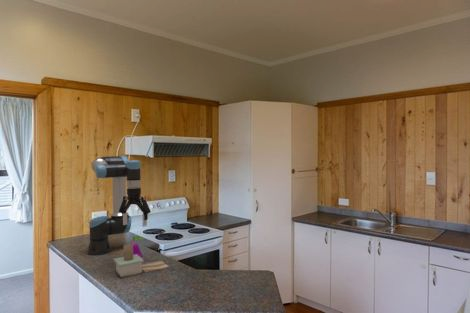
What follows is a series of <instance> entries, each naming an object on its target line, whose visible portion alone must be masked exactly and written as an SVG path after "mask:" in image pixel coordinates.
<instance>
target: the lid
mask: <svg viewBox="0 0 470 313" xmlns="http://www.w3.org/2000/svg"><path fill="white" fill-rule="evenodd" d="M122 247H123V256H120V257H115V258H113V262H114V263H115V265H116V264H117V265H118V266H119V267H123V266H128V265H133V264H138V263H141V264H144V262H145V261H144V259H143V257H142V258H141V257H140V256H138V255H137V254H135V255H133V244H131V243H126V244H123V246H122Z"/></svg>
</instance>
